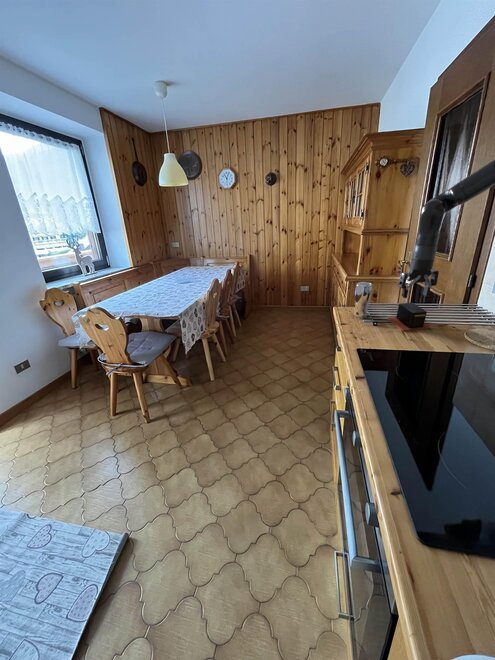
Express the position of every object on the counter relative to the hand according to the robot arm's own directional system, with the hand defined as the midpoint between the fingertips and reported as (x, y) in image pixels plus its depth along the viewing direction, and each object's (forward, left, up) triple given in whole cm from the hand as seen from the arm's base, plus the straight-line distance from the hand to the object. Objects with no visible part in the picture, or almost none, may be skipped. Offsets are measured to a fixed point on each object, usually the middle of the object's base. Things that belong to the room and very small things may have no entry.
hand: (414, 296), depth 115 cm
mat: (0, 0, -12) cm, 12 cm away
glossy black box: (0, 0, -12) cm, 12 cm away
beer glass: (+16, -12, -13) cm, 24 cm away
